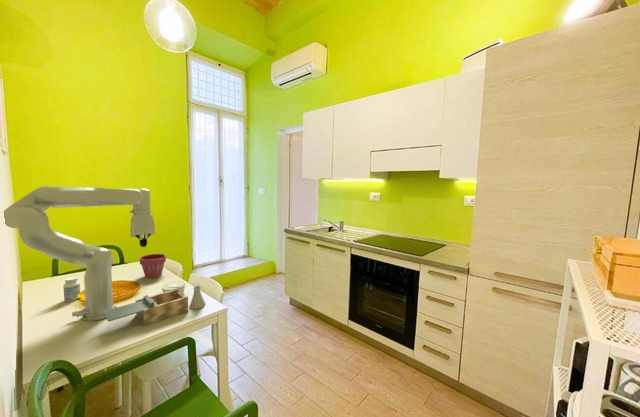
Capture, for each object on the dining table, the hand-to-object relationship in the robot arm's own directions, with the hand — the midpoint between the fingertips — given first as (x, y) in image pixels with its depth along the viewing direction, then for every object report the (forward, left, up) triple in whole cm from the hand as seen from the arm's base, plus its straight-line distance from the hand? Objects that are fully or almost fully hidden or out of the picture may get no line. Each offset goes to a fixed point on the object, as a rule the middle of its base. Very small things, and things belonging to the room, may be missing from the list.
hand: (143, 246), depth 137 cm
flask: (+14, -31, -27) cm, 44 cm away
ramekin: (+11, -9, -27) cm, 31 cm away
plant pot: (+12, +29, -27) cm, 42 cm away
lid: (-12, -27, -21) cm, 36 cm away
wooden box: (0, -27, -27) cm, 38 cm away
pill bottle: (-27, +20, -27) cm, 43 cm away
